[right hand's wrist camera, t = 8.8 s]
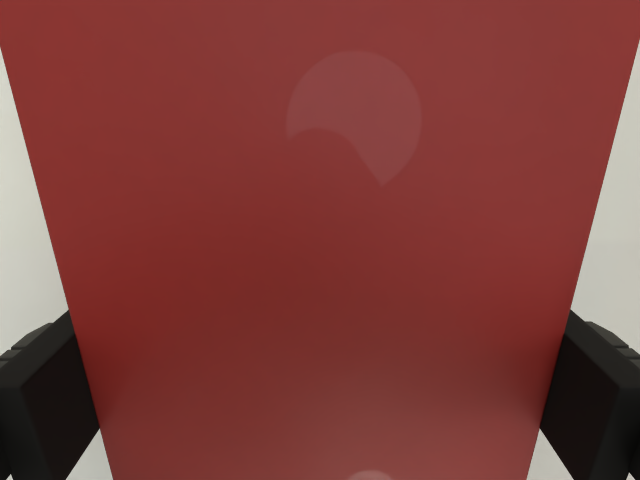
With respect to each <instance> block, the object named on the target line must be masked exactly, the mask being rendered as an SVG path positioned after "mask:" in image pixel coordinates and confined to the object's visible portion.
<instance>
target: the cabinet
mask: <svg viewBox="0 0 640 480" xmlns="http://www.w3.org/2000/svg"><path fill="white" fill-rule="evenodd" d="M639 40H640V0H0V48H1V51H2V55H3V59H4V63H5V67H6V71H7V74H8V78H9V82H10V86H11V90H12V94H13V97H14V101H15V105H16V109H17V113H18V117H19V120H20V124H21V128H22V132H23V136H24V140H25V143H26V147H27V151H28V155H29V159H30V163H31V166H32V170H33V174H34V178H35V182H36V186H37V189H38V193H39V197H40V201H41V205H42V209H43V212H44V216H45V220H46V224H47V228H48V232H49V235H50V239H51V243H52V247H53V251H54V255H55V258H56V262H57V266H58V270H59V274H60V278H61V281H62V285H63V289H64V293H65V297H66V301H67V304H68V308H69V312H70V316H71V320H72V324H73V327H74V331H75V335H76V339H77V343H78V347H79V350H80V354H81V358H82V362H83V366H84V370H85V373H86V377H87V381H88V385H89V389H90V393H91V396H92V400H93V404H94V408H95V412H96V416H97V419H98V423H99V427H100V431H101V435H102V439H103V442H104V446H105V450H106V454H107V458H108V462H109V465H110V469H111V473H112V477H113V480H526V479H527V475H528V471H529V467H530V463H531V459H532V456H533V452H534V448H535V444H536V440H537V436H538V432H539V428H540V424H541V421H542V417H543V413H544V409H545V405H546V401H547V397H548V393H549V389H550V386H551V382H552V378H553V374H554V370H555V366H556V362H557V358H558V355H559V351H560V347H561V343H562V339H563V335H564V331H565V327H566V323H567V320H568V316H569V312H570V308H571V304H572V300H573V296H574V292H575V288H576V285H577V281H578V277H579V273H580V269H581V265H582V261H583V257H584V254H585V250H586V246H587V242H588V238H589V234H590V230H591V226H592V222H593V219H594V215H595V211H596V207H597V203H598V199H599V195H600V191H601V187H602V184H603V180H604V176H605V172H606V168H607V164H608V160H609V156H610V152H611V149H612V145H613V141H614V137H615V133H616V129H617V125H618V121H619V118H620V114H621V110H622V106H623V102H624V98H625V94H626V90H627V86H628V83H629V79H630V75H631V71H632V67H633V63H634V59H635V55H636V51H637V48H638V44H639Z"/></svg>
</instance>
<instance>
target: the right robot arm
mask: <svg viewBox="0 0 640 480" xmlns="http://www.w3.org/2000/svg"><path fill="white" fill-rule="evenodd" d="M99 428H100V427H99V423H98V419H97V416H96V412H95V408H94V404H93V400H92V396H91V393H90V389H89V385H88V381H87V377H86V373H85V370H84V366H83V362H82V358H81V354H80V350H79V347H78V343H77V339H76V335H75V331H74V327H73V324H72V320H71V316H70V312H69V310H68V311H67V312H65V313H64V314H63V315H62V316H61V317H60V318H58V319H57V320H56V321H55V322H54V323H48V324H46V325H44V326H42V327H40V328H38V329H36V330H34V331H32V332H30V333H29V334H27V335H26V336H24V337H23V338H22V339H21V340H20V341H18V342H17V343H16V344H15V345H13V346H12V347H11V350H7V351H6V352H5V353H4V354H2V355H1V356H0V480H6V479H7V478H8V477H9V475H10V474H11V475H12V478H13V480H66V478H67V477H68V475H69V474H70V472H71V471H72V469H73V468H74V466H75V465H76V463H77V462H78V460H79V459H80V457H81V456H82V454H83V453H84V451H85V450H86V448H87V447H88V445H89V444H90V442H91V441H92V439H93V438H94V436H95V435H96V433H97V432H98V430H99ZM540 429H541V431H542V432H543V434H544V435H545V437H546V438H547V440H548V441H549V443H550V444H551V446H552V447H553V449H554V450H555V452H556V453H557V455H558V456H559V458H560V459H561V461H562V462H563V464H564V465H565V467H566V468H567V470H568V472H569V473H570V475H571V476H572V478H573V479H574V480H626V479H627V476H628V474H629V473H630V474H631V475H632V476H633V477H634V479H635V480H640V355H639V354H638V353H637V352H636V351H635V350H633V349H632V348H629V346H628V345H627V344H626V343H625V342H623V341H622V340H621V339H620V338H618V337H617V336H616V335H615V334H614V333H612V332H610V331H608V330H606V329H604V328H603V327H601V326H599V325H597V324H595V323H593V322H585V321H583V320H582V319H581V318H580V317H579V316H578V315H576V314H575V313H574V312H573V311H572V310H571V309H570V312H569V316H568V320H567V323H566V327H565V331H564V335H563V339H562V343H561V347H560V351H559V355H558V358H557V362H556V366H555V370H554V374H553V378H552V382H551V386H550V389H549V393H548V397H547V401H546V405H545V409H544V413H543V417H542V421H541V424H540Z"/></svg>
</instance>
